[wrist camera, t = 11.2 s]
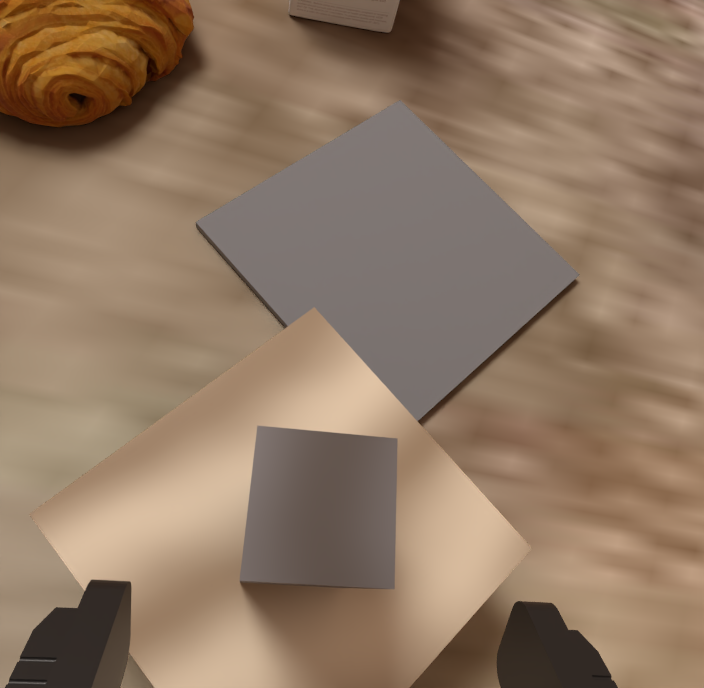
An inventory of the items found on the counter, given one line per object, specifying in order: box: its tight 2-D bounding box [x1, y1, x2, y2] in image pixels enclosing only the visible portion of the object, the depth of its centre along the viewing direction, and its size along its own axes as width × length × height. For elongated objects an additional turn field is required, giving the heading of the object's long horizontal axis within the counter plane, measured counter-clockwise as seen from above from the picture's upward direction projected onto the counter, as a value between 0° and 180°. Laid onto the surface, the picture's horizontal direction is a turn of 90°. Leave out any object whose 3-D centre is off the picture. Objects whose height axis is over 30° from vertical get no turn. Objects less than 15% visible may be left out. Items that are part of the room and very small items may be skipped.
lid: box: [29, 307, 532, 688], centre depth 18 cm, size 13×13×9 cm
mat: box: [196, 100, 579, 421], centre depth 34 cm, size 16×16×1 cm
